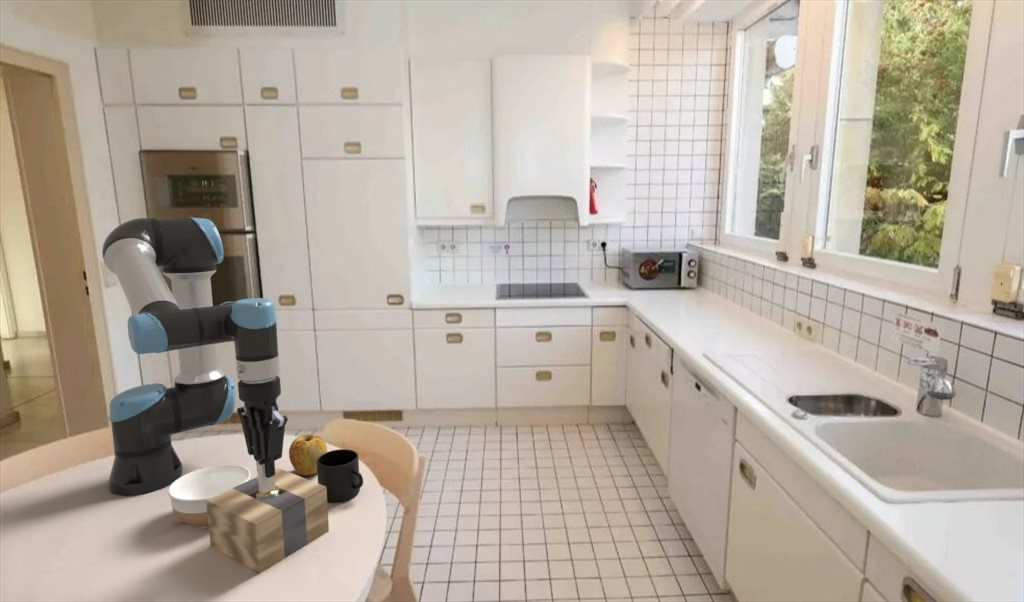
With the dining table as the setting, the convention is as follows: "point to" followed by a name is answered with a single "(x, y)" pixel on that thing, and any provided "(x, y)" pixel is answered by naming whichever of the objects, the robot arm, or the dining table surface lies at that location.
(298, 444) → the apple
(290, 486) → the socket block
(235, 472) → the bowl
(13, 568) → the dining table surface
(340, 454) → the mug
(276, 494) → the peg
